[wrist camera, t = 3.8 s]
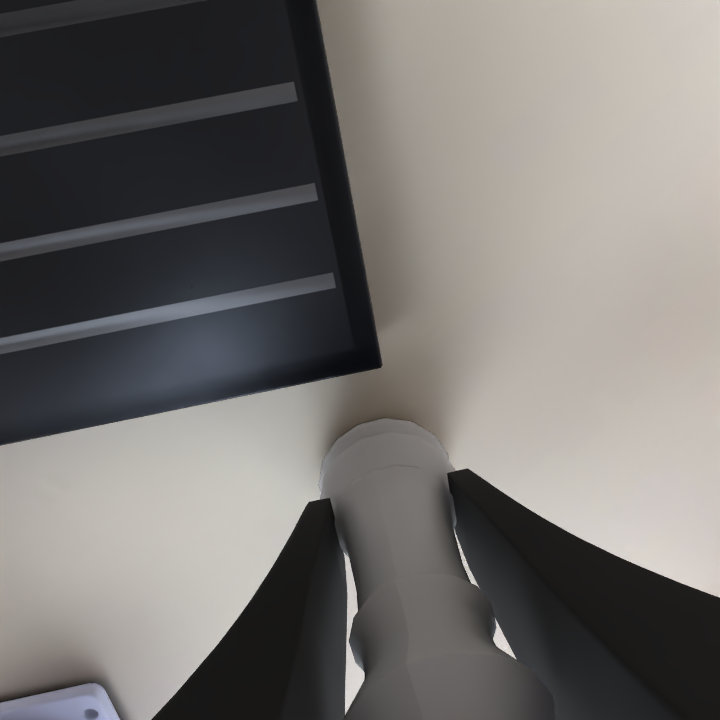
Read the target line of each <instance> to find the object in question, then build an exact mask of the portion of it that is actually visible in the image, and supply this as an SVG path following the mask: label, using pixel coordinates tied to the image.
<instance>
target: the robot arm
mask: <svg viewBox="0 0 720 720" xmlns="http://www.w3.org/2000/svg"><path fill="white" fill-rule="evenodd" d="M447 477H448V484H449V490H450V493H451V494H452V496H453V501H454V508H455V514H456V525H455V532H456V535H457V538H458V540H459V543H460V545H461V548H462V551H463V553H464V556H465V558H466V561H467V563H468V566H469V568H470V570H471V572H472V574H473V576H474V578H475V580H476V582H477V584H478V586H479V588H480V590H481V591H482V593H483V594H484V595H485V596H486V598H487V599H488V600H489V601H490V603H491V604H492V605H493V611H494V616H495V618H496V620H497V622H498V624H499V626H500V628H501V630H502V632H503V634H504V636H505V638H506V640H507V641H508V643H509V645H510V647H511V649H512V651H513V653H514V655H515V657H516V659H517V661H519V662H521V663H522V664H524V665H525V666H527V667H528V668H530V669H531V670H533V672H534V673H535V674H536V675H537V677H538V678H539V679H540V680H541V681H542V683H543V684H544V685H545V686H546V688H547V689H548V690H549V691H550V693H551V694H552V695H553V700H554V708H555V716H556V720H720V598H719V597H716V596H713V595H711V594H708V593H705V592H703V591H700V590H697V589H695V588H692V587H689V586H687V585H684V584H681V583H679V582H676V581H674V580H671V579H669V578H667V577H664V576H662V575H659V574H657V573H655V572H652V571H650V570H647V569H645V568H642V567H640V566H638V565H635V564H633V563H631V562H629V561H626V560H624V559H622V558H620V557H617V556H615V555H613V554H611V553H609V552H607V551H605V550H603V549H601V548H599V547H597V546H595V545H592V544H590V543H588V542H586V541H584V540H582V539H580V538H578V537H576V536H575V535H573V534H571V533H569V532H567V531H565V530H563V529H562V528H560V527H558V526H556V525H555V524H553V523H551V522H549V521H548V520H546V519H544V518H542V517H541V516H539V515H537V514H536V513H534V512H532V511H531V510H529V509H527V508H526V507H524V506H523V505H521V504H519V503H518V502H516V501H515V500H513V499H512V498H510V497H509V496H507V495H506V494H504V493H503V492H501V491H500V490H498V489H497V488H495V487H494V486H492V485H491V484H490V483H488V482H487V481H485V480H484V479H482V478H481V477H479V476H478V475H477V474H475V473H474V472H472V471H471V470H469V469H463V470H458V471H454V472H449V473H447ZM334 521H335V516H334V512H333V508H332V504H331V500H330V498H326V499H321V500H316V501H312V502H309V503H308V504H307V506H306V507H305V509H304V511H303V513H302V515H301V517H300V519H299V521H298V523H297V524H296V526H295V528H294V530H293V532H292V534H291V536H290V537H289V539H288V541H287V543H286V545H285V546H284V548H283V550H282V551H281V553H280V555H279V557H278V558H277V560H276V562H275V563H274V565H273V567H272V568H271V570H270V571H269V573H268V575H267V576H266V578H265V579H264V581H263V582H262V584H261V585H260V587H259V588H258V590H257V591H256V593H255V595H254V596H253V598H252V599H251V600H250V602H249V603H248V605H247V606H246V608H245V609H244V610H243V612H242V613H241V615H240V616H239V617H238V619H237V620H236V621H235V623H234V624H233V625H232V627H231V628H230V629H229V631H228V632H227V633H226V635H225V636H224V637H223V638H222V640H221V641H220V642H219V644H218V645H217V646H216V647H215V648H214V650H213V651H212V652H211V653H210V654H209V655H208V657H207V658H206V659H205V660H204V661H203V662H202V664H201V665H200V666H199V667H198V668H197V669H196V671H195V672H194V673H193V674H192V675H191V676H190V678H189V679H188V680H187V681H186V682H185V683H184V685H183V686H182V687H181V688H180V689H179V690H178V692H177V693H176V694H175V695H174V696H173V697H172V698H171V699H170V700H169V701H168V702H167V703H166V705H165V706H164V707H163V708H162V709H161V710H160V711H159V712H158V713H157V714H156V715H155V716H154V717H153V719H152V720H343V719H344V717H345V672H346V634H347V583H346V570H345V558H344V553H343V550H342V549H341V547H340V544H339V540H338V536H337V532H336V528H335V523H334ZM0 720H120V718H119V716H118V714H117V712H116V710H115V708H114V706H113V704H112V703H111V701H110V699H109V697H108V695H107V693H106V691H105V689H104V688H103V687H102V686H101V685H99V684H96V683H88V684H83V685H79V686H74V687H70V688H65V689H60V690H56V691H51V692H47V693H42V694H38V695H33V696H28V697H24V698H19V699H15V700H10V701H6V702H1V703H0Z"/></svg>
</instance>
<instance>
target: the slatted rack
mask: <svg viewBox="0 0 720 720" xmlns="http://www.w3.org/2000/svg"><path fill="white" fill-rule="evenodd" d="M382 365H383V364H382V359H381V353H380V348H379V342H378V337H377V331H376V326H375V320H374V315H373V309H372V304H371V298H370V293H369V287H368V282H367V276H366V271H365V265H364V260H363V254H362V249H361V243H360V238H359V232H358V227H357V221H356V216H355V210H354V205H353V199H352V194H351V188H350V183H349V177H348V172H347V166H346V161H345V155H344V150H343V144H342V139H341V133H340V128H339V122H338V117H337V111H336V106H335V100H334V95H333V89H332V84H331V78H330V73H329V67H328V62H327V56H326V51H325V45H324V40H323V34H322V29H321V23H320V18H319V12H318V7H317V1H316V0H0V446H1V445H6V444H11V443H15V442H20V441H25V440H30V439H35V438H40V437H45V436H50V435H55V434H60V433H64V432H69V431H74V430H79V429H84V428H89V427H94V426H99V425H104V424H109V423H114V422H118V421H123V420H128V419H133V418H138V417H143V416H148V415H153V414H158V413H163V412H167V411H172V410H177V409H182V408H187V407H192V406H197V405H202V404H207V403H212V402H217V401H221V400H226V399H231V398H236V397H241V396H246V395H251V394H256V393H261V392H266V391H270V390H275V389H280V388H285V387H290V386H295V385H300V384H305V383H310V382H315V381H319V380H324V379H329V378H334V377H339V376H344V375H349V374H354V373H359V372H364V371H369V370H373V369H378V368H381V367H382Z"/></svg>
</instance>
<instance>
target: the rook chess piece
mask: <svg viewBox="0 0 720 720" xmlns="http://www.w3.org/2000/svg"><path fill="white" fill-rule="evenodd" d="M454 471H455V468H454V467H453V466H452V464H451V463H450V462H449V458H448V453H447V452H446V450H445V449H444V448H443V446H442V445H441V443H440V442H439V441H438V439H437V438H436V437H435V435H434V434H433V433H431V432H429V431H427V430H426V429H424V428H422V427H420V426H419V425H417V424H415V423H413V422H412V421H404V420H396V419H388V418H383V419H379V420H375V421H371V422H367V423H363V424H359V425H357V426H356V427H354V428H353V429H351V430H350V431H348V432H347V433H346V434H344V435H343V436H341V437H340V438H338V439H337V440H336V441H335V443H334V444H333V446H332V447H331V449H330V450H329V452H328V453H327V455H326V457H325V458H324V460H323V461H322V467H321V473H320V480H319V488H320V491H321V496H320V500H321V499H326V498H330V500H331V504H332V508H333V512H334V516H335V521H334V523H335V528H336V532H337V536H338V540H339V544H340V547H341V549H342V550H343V551H344V552H345V553H346V555H347V556H348V557H349V558H350V563H351V567H352V572H353V577H354V581H355V586H356V590H357V603H358V612H357V614H356V615H355V617H354V618H353V623H352V628H351V633H350V638H349V643H350V646H351V649H352V653H353V656H354V659H355V662H356V663H357V665H358V666H359V667H360V668H361V669H362V670H363V671H364V672H365V680H364V682H363V684H362V686H361V688H360V689H359V691H358V693H357V695H356V697H355V699H354V700H353V702H352V704H351V706H350V708H349V709H348V711H347V713H346V715H345V717H344V719H343V720H556V716H555V708H554V700H553V695H552V694H551V693H550V691H549V690H548V689H547V688H546V686H545V685H544V684H543V683H542V681H541V680H540V679H539V678H538V677H537V675H536V674H535V673H534V672H533V670H531V669H530V668H528V667H527V666H525V665H524V664H522V663H521V662H519V661H517V660H516V659H514V658H513V657H511V656H510V655H508V654H507V653H505V652H504V651H502V650H501V649H499V648H498V647H497V646H496V645H495V643H494V641H493V637H494V634H495V630H496V622H495V616H494V611H493V605H492V604H491V603H490V601H489V600H488V599H487V598H486V596H485V595H484V594H483V593H482V591H481V590H480V589H479V588H478V586H475V585H473V584H471V582H470V580H469V578H468V575H467V573H466V571H465V569H464V566H463V563H462V560H461V556H460V552H459V549H458V545H457V541H456V538H455V534H454V529H455V525H456V514H455V508H454V501H453V496H452V494H451V493H450V490H449V484H448V477H447V473H449V472H454Z"/></svg>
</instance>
